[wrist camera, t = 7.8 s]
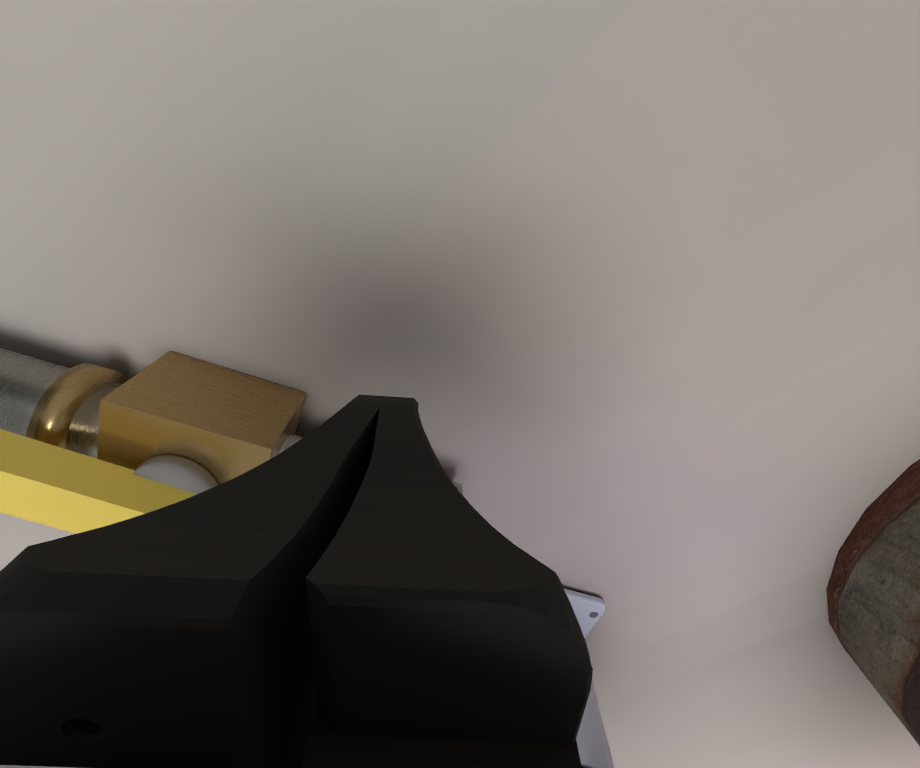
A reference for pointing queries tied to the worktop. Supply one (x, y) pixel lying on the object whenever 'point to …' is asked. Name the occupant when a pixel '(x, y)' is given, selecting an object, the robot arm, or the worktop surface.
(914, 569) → the barrel
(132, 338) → the worktop surface
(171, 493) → the lever
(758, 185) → the worktop surface
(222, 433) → the valve body
